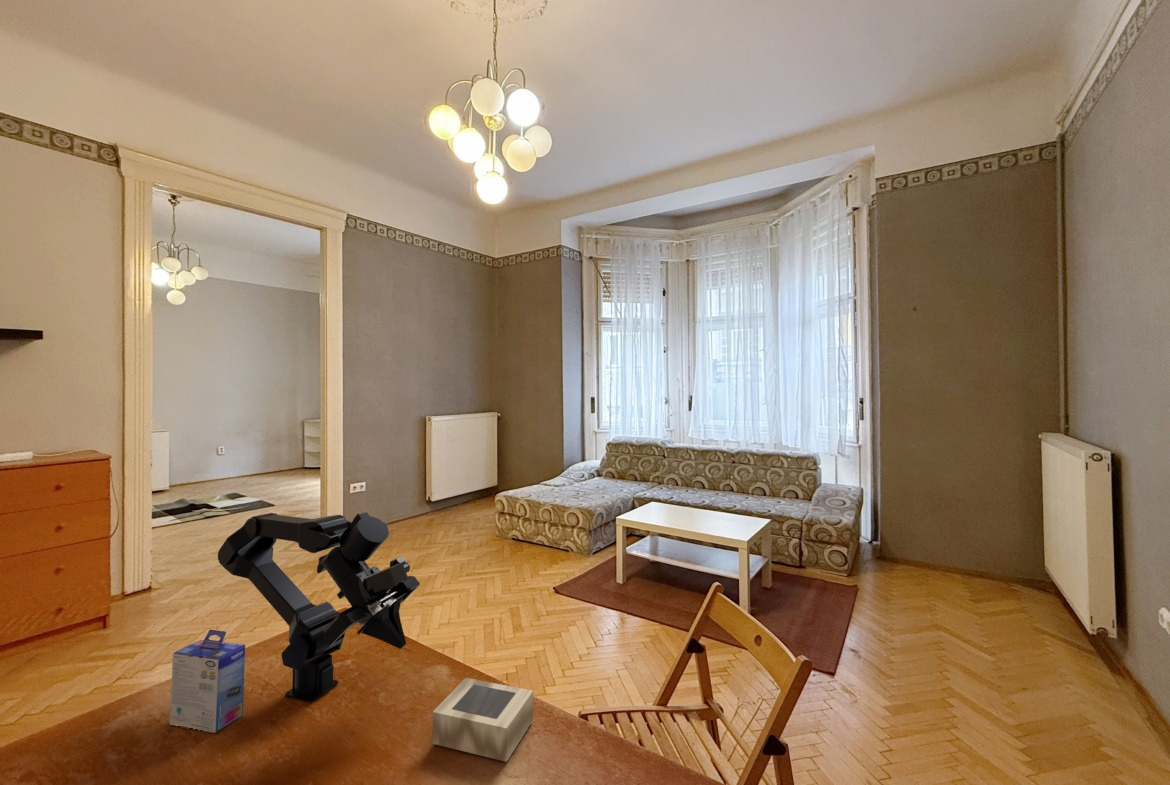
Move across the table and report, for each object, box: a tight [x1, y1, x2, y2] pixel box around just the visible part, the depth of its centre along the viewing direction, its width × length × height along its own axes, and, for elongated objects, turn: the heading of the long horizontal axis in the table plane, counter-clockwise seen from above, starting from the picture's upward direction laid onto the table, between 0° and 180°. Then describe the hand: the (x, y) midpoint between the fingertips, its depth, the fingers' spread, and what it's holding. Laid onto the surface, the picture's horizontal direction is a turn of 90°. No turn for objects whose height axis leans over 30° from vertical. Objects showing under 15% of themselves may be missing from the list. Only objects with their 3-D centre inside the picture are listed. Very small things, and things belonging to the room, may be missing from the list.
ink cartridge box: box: [168, 629, 246, 734], centre depth 84 cm, size 10×6×14 cm, turn 78°
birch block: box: [431, 677, 534, 763], centre depth 80 cm, size 5×10×13 cm
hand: (403, 646), depth 85 cm, fingers closed
